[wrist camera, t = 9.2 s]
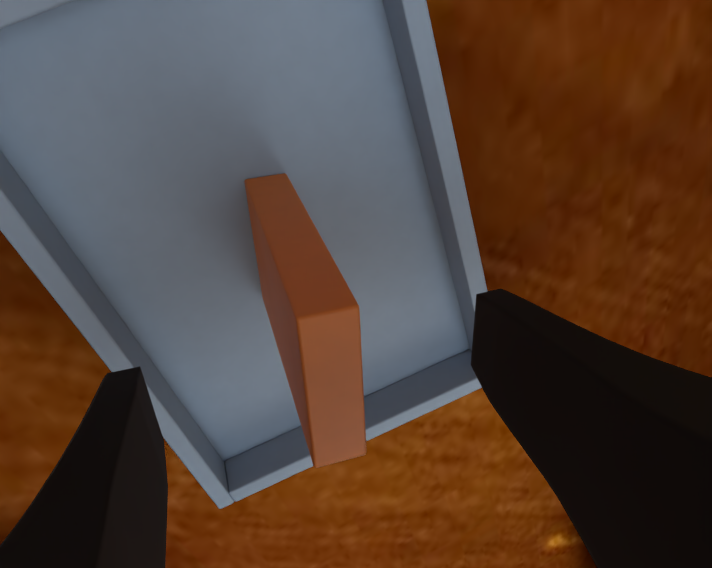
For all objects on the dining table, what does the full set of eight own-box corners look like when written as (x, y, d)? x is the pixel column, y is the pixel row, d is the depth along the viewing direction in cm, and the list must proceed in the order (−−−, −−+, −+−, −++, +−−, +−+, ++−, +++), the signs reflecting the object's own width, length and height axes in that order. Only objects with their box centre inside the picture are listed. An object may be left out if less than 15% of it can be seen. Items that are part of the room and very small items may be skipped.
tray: (214, 466, 22) (219, 510, 20) (-109, 30, 13) (-147, 45, 11) (480, 344, 23) (506, 377, 21) (363, -150, 13) (393, -161, 12)
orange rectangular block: (262, 298, 18) (314, 470, 12) (243, 178, 16) (295, 318, 10) (299, 291, 18) (367, 455, 13) (286, 172, 16) (360, 305, 11)
